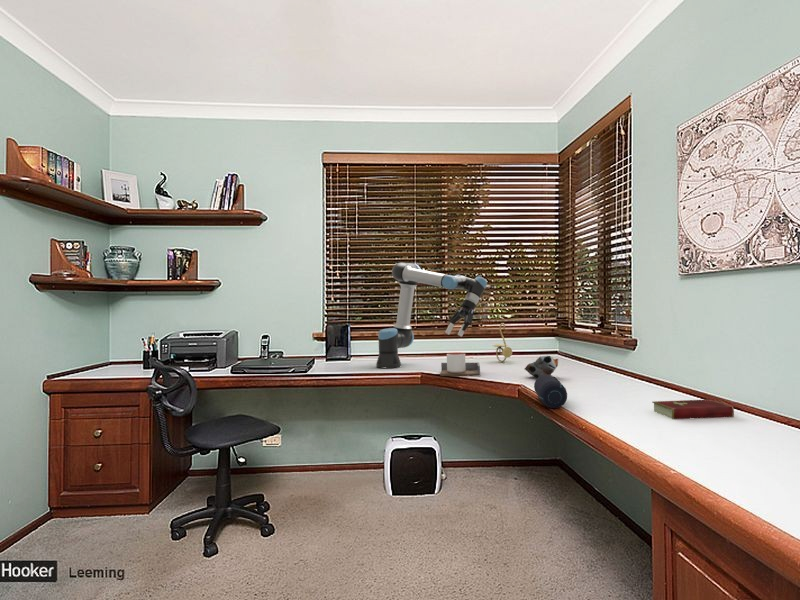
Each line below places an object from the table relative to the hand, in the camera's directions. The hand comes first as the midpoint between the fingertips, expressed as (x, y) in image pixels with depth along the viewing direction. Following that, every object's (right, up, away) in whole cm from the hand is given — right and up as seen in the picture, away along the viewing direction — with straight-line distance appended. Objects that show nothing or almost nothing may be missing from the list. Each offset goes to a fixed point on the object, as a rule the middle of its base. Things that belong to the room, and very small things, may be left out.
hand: (453, 334), depth 282 cm
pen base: (+3, -21, -7) cm, 22 cm away
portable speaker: (+28, -21, -87) cm, 94 cm away
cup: (+1, -20, -8) cm, 22 cm away
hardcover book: (+70, -20, -110) cm, 132 cm away
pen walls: (+3, -20, -7) cm, 21 cm away
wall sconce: (+35, -20, +39) cm, 56 cm away
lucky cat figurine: (+43, -20, -24) cm, 53 cm away
